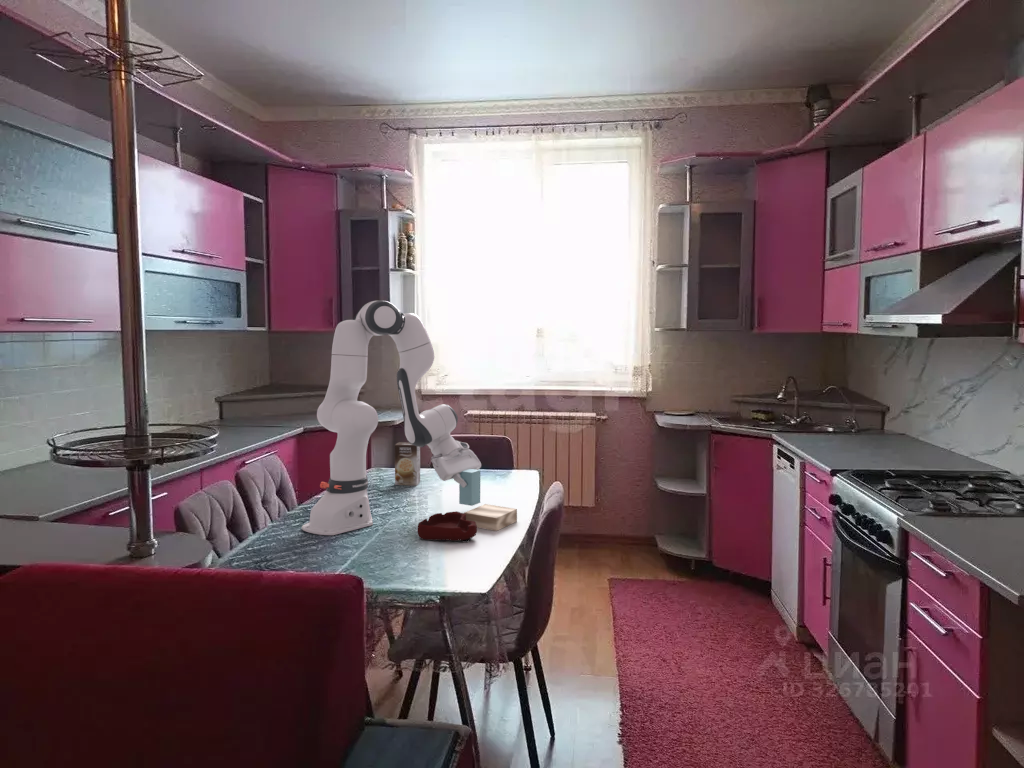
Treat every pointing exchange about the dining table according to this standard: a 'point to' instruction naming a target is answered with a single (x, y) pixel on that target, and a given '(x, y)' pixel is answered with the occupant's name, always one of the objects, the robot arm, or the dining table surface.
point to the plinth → (492, 516)
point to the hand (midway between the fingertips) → (471, 484)
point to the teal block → (470, 487)
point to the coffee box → (407, 464)
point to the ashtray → (447, 527)
